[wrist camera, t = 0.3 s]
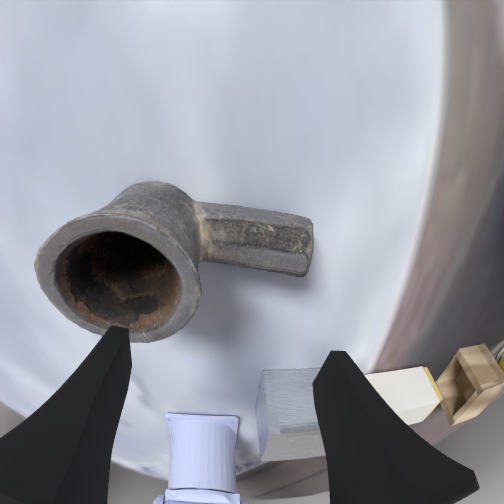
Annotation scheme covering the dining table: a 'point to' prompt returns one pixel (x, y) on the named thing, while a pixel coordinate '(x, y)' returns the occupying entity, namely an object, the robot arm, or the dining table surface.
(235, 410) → the dining table surface
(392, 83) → the dining table surface
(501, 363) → the supplement bottle
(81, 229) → the pipe
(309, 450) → the sleeve
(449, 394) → the socket
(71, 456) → the robot arm
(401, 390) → the long white bar
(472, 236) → the dining table surface
